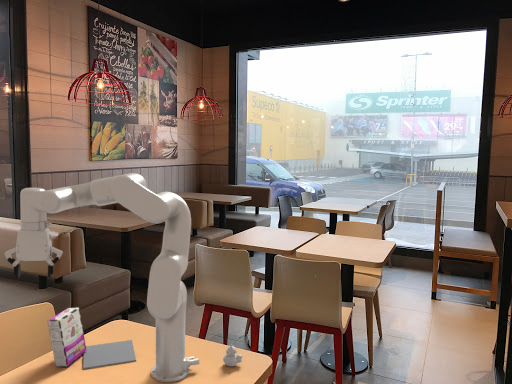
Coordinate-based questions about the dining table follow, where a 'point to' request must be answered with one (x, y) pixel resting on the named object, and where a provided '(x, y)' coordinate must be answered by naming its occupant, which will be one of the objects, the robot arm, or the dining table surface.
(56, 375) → the dining table surface
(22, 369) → the dining table surface
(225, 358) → the white lumpy figure
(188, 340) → the dining table surface
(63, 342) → the candy bar box
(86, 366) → the mat
